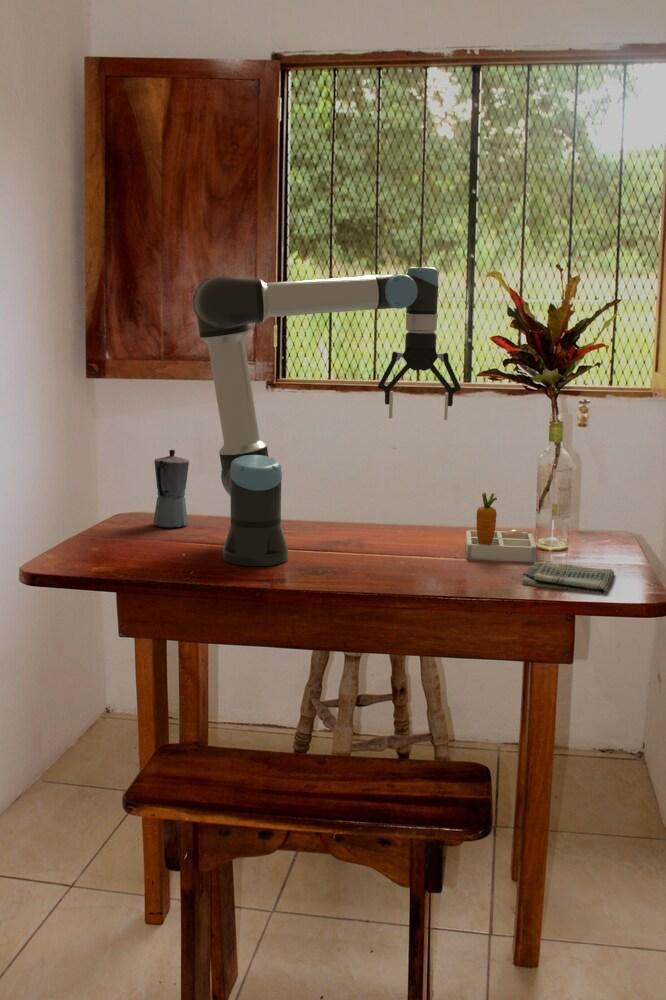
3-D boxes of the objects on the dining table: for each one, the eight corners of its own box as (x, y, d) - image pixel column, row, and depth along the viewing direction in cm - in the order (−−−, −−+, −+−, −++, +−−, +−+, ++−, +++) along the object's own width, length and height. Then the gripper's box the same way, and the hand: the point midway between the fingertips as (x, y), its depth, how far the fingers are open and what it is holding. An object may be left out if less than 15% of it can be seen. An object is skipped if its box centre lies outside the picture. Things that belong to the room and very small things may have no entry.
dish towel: (615, 576, 237) (616, 563, 237) (606, 597, 221) (607, 583, 220) (533, 567, 244) (534, 554, 243) (518, 587, 227) (519, 573, 227)
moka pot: (197, 520, 284) (196, 447, 280) (178, 533, 269) (177, 455, 265) (163, 518, 286) (162, 445, 282) (143, 531, 271) (141, 454, 267)
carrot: (489, 551, 255) (492, 489, 252) (498, 555, 250) (501, 493, 247) (470, 551, 253) (473, 490, 250) (479, 556, 249) (482, 494, 246)
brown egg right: (524, 550, 256) (525, 531, 255) (505, 549, 256) (506, 531, 255) (523, 545, 260) (524, 527, 259) (504, 544, 261) (505, 526, 260)
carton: (535, 562, 247) (536, 547, 246) (466, 559, 248) (467, 544, 247) (530, 546, 262) (531, 532, 261) (465, 543, 264) (466, 529, 263)
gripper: (472, 332, 259) (468, 418, 263) (371, 330, 262) (368, 415, 266) (472, 333, 252) (469, 422, 256) (368, 331, 254) (366, 418, 259)
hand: (418, 418), depth 261 cm, fingers open, 13 cm apart
